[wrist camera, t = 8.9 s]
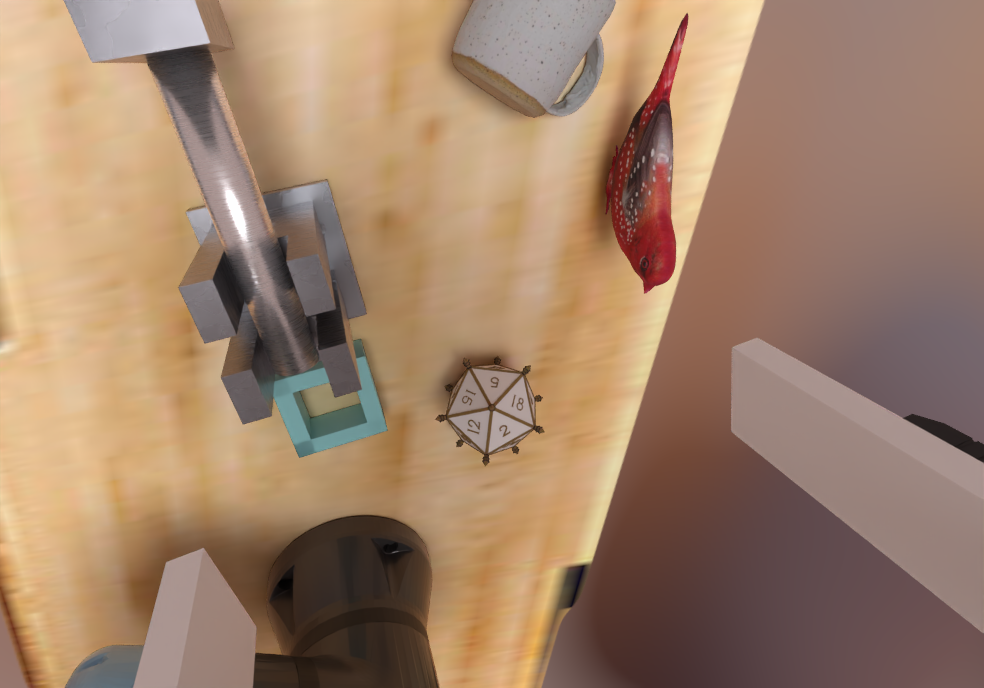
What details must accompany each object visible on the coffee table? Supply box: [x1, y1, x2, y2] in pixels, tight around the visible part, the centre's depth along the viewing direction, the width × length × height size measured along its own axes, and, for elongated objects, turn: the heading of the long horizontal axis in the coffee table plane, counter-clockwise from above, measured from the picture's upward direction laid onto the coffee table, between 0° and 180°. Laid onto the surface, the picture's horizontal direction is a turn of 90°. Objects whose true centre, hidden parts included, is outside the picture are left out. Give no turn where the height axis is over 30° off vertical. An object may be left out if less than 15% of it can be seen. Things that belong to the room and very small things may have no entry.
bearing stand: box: [178, 179, 367, 424], centre depth 33 cm, size 10×9×13 cm
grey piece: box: [64, 0, 320, 376], centre depth 27 cm, size 19×4×9 cm, turn 9°
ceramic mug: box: [452, 0, 616, 118], centre depth 34 cm, size 11×8×8 cm
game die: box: [435, 357, 544, 466], centre depth 45 cm, size 9×8×10 cm
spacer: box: [273, 339, 388, 458], centre depth 43 cm, size 3×7×7 cm
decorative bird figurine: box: [606, 13, 688, 294], centre depth 38 cm, size 3×18×10 cm, turn 175°
